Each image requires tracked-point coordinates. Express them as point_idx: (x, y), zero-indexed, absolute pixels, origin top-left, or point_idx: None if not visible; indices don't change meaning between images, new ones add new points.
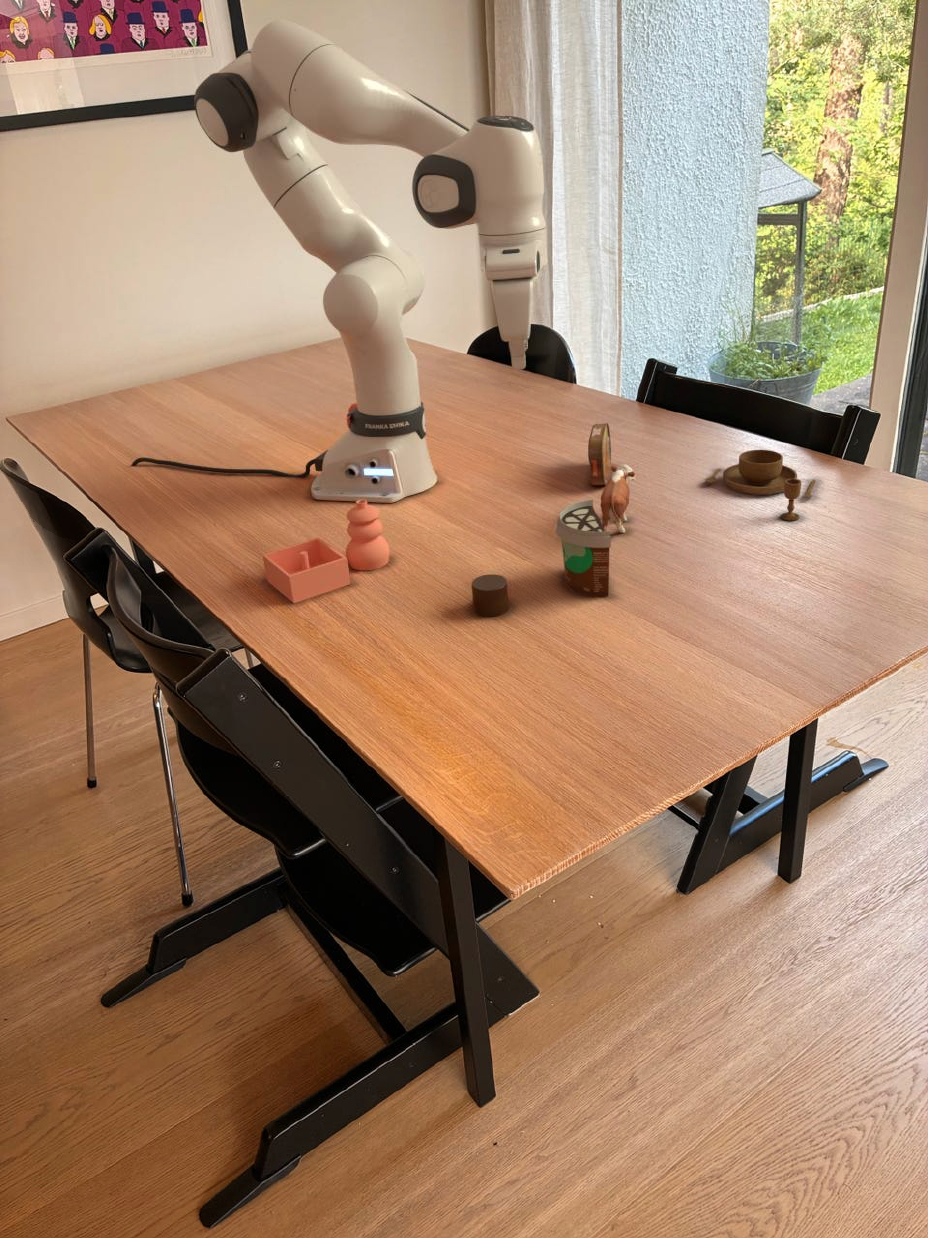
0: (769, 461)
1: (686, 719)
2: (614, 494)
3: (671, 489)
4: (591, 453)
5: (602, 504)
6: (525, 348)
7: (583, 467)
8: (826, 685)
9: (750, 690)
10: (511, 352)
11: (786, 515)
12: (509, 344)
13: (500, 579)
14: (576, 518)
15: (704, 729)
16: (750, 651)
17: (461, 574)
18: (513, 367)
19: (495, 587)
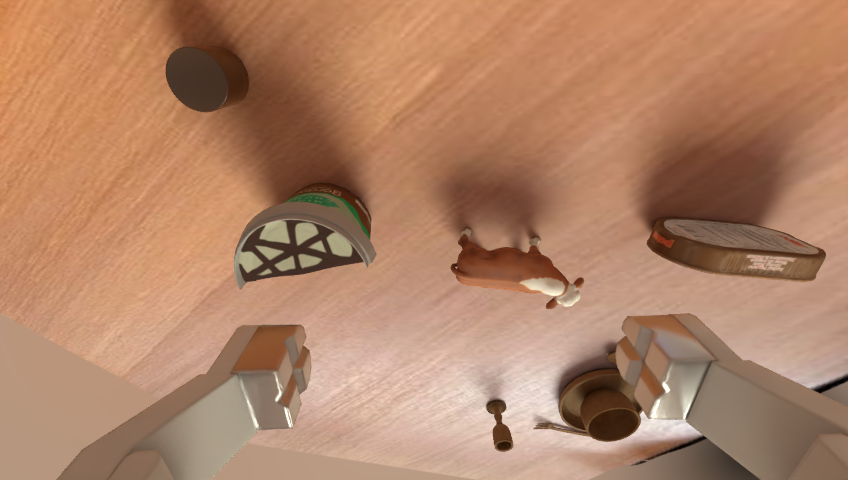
0: (622, 421)
1: (55, 293)
2: (469, 280)
3: (613, 313)
4: (686, 245)
5: (465, 255)
6: (622, 365)
7: (759, 202)
8: (158, 387)
9: (127, 341)
10: (162, 403)
11: (494, 406)
12: (79, 459)
13: (210, 99)
14: (311, 239)
15: (46, 305)
16: (197, 348)
17: (333, 7)
18: (237, 331)
19: (181, 93)
